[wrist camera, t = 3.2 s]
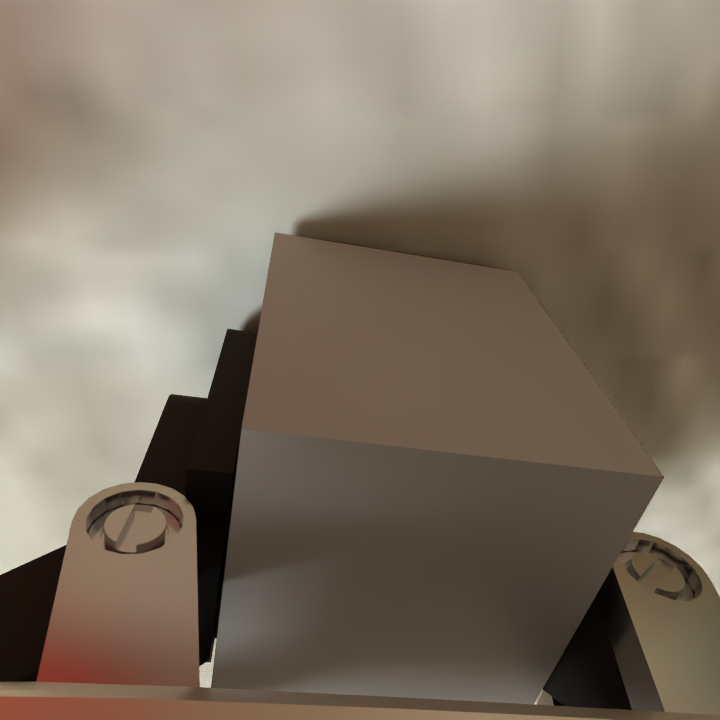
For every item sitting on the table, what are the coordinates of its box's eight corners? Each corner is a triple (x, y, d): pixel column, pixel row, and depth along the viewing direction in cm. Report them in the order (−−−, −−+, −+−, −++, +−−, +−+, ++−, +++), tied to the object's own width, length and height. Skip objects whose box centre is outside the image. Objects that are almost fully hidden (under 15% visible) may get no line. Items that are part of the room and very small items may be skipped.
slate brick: (429, 530, 13) (483, 791, 9) (239, 512, 13) (200, 782, 8) (517, 272, 10) (663, 477, 6) (275, 232, 10) (241, 428, 5)
